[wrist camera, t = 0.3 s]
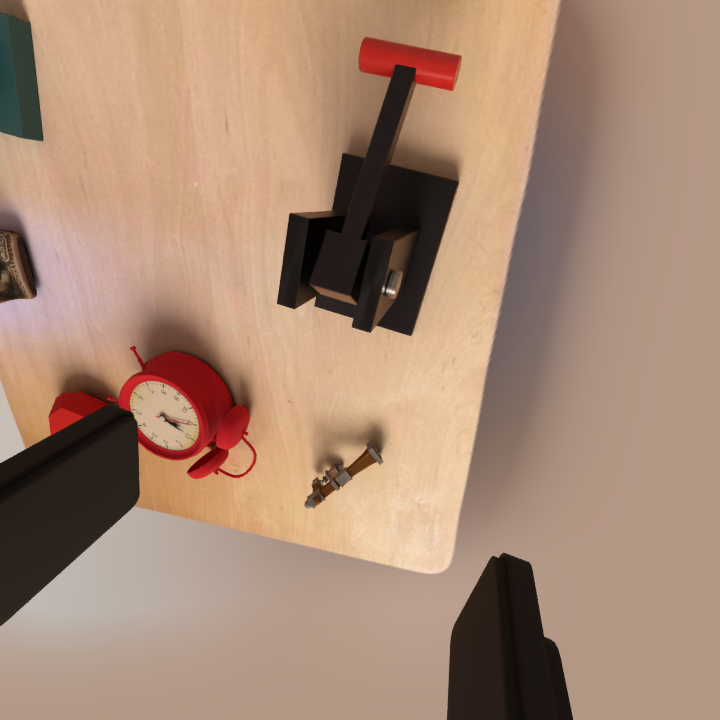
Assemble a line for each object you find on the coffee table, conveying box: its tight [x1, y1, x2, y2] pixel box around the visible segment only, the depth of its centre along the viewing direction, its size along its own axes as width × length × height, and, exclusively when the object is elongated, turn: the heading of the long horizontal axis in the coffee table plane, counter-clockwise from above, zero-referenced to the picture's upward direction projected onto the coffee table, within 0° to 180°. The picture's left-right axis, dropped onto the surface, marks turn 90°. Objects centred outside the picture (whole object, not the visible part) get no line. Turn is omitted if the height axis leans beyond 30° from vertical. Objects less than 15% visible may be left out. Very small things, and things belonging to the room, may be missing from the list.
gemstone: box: [49, 393, 109, 435], centre depth 42 cm, size 9×9×3 cm
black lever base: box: [277, 153, 459, 336], centre depth 23 cm, size 11×8×12 cm
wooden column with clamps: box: [305, 441, 383, 509], centre depth 36 cm, size 2×8×4 cm, turn 129°
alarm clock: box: [107, 346, 256, 479], centre depth 37 cm, size 10×6×15 cm
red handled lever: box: [309, 37, 462, 305], centre depth 20 cm, size 13×5×2 cm, turn 167°
